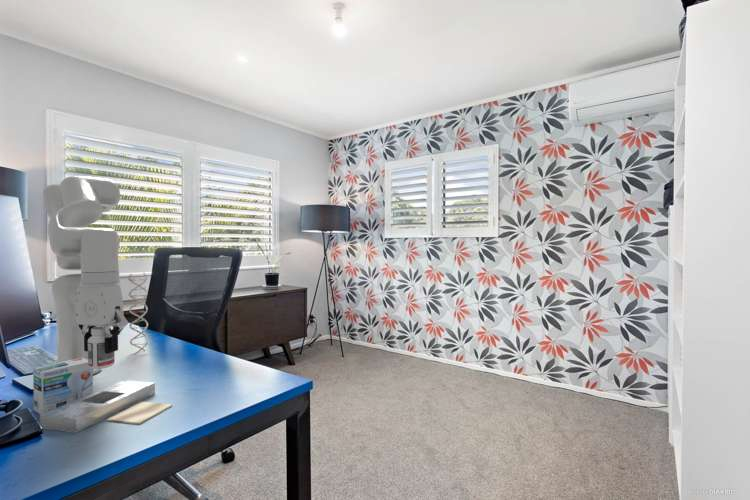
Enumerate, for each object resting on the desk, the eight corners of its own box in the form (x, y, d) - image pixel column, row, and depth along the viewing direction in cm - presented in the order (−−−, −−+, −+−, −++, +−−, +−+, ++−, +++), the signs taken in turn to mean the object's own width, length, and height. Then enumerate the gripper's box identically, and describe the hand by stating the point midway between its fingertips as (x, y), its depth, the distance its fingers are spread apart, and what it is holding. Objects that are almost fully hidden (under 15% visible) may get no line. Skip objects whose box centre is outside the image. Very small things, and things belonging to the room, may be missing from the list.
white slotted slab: (40, 428, 86) (39, 415, 85) (124, 390, 107) (124, 380, 107) (76, 432, 83) (76, 419, 83) (154, 393, 105) (154, 382, 105)
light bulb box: (43, 417, 91) (41, 372, 91) (32, 411, 95) (31, 367, 94) (94, 401, 100) (93, 360, 100) (83, 396, 104) (82, 356, 104)
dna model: (139, 350, 148) (137, 272, 147) (153, 351, 146) (151, 272, 146) (124, 355, 141) (122, 274, 141) (139, 356, 140) (137, 274, 139)
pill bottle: (118, 362, 99) (117, 324, 98) (108, 369, 94) (108, 329, 93) (94, 363, 98) (94, 325, 97) (83, 370, 92) (82, 330, 92)
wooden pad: (106, 420, 89) (106, 419, 89) (141, 403, 99) (141, 401, 99) (139, 424, 87) (139, 422, 87) (171, 406, 97) (171, 404, 97)
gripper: (56, 278, 93) (58, 352, 94) (115, 281, 89) (116, 358, 90) (86, 275, 100) (87, 344, 101) (141, 278, 97) (142, 349, 97)
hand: (101, 350), depth 95 cm, fingers closed on pill bottle, 5 cm apart
